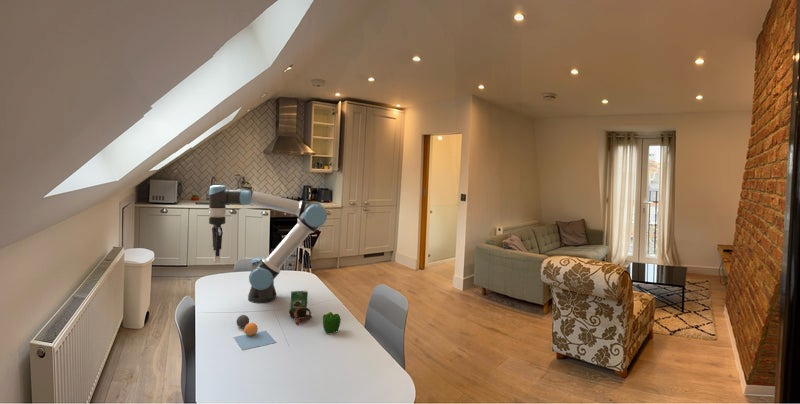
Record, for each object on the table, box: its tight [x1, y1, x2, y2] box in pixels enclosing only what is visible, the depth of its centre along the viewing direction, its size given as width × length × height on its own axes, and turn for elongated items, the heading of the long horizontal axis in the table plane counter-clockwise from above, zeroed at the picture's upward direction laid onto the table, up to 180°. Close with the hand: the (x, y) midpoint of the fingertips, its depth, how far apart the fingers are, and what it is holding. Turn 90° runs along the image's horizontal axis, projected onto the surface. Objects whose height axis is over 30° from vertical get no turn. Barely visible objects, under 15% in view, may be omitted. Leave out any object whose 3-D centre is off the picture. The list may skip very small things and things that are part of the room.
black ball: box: [235, 314, 250, 328], centre depth 184 cm, size 6×6×6 cm
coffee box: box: [289, 290, 309, 319], centre depth 199 cm, size 8×3×13 cm, turn 115°
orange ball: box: [244, 322, 258, 336], centre depth 176 cm, size 6×6×6 cm
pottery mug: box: [288, 307, 313, 326], centre depth 193 cm, size 12×10×8 cm
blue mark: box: [233, 330, 277, 351], centre depth 171 cm, size 14×14×1 cm
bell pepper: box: [322, 311, 342, 334], centre depth 183 cm, size 8×8×10 cm
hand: (216, 262), depth 203 cm, fingers closed
